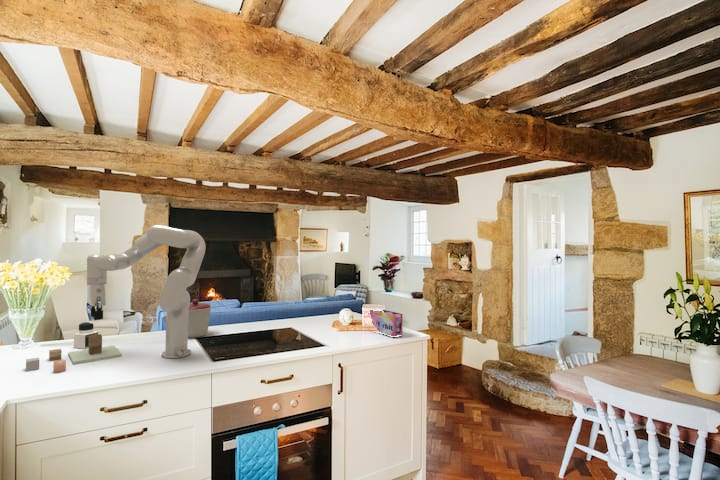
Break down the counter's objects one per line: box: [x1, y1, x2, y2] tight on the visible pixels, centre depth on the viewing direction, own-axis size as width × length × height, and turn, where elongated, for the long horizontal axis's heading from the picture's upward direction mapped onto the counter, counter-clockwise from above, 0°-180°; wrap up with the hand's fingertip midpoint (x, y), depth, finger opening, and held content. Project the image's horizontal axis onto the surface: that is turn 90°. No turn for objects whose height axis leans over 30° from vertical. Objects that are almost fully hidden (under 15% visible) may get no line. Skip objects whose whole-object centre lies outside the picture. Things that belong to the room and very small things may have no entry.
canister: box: [188, 298, 213, 339], centre depth 211 cm, size 18×18×21 cm
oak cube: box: [48, 348, 63, 362], centre depth 166 cm, size 4×4×4 cm
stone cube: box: [25, 357, 40, 372], centre depth 153 cm, size 4×4×4 cm
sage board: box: [67, 345, 123, 365], centre depth 172 cm, size 18×18×1 cm
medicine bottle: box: [73, 321, 99, 350], centre depth 186 cm, size 7×7×12 cm
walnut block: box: [87, 333, 103, 355], centre depth 172 cm, size 4×4×8 cm
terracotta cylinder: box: [52, 359, 67, 374], centre depth 151 cm, size 4×4×4 cm
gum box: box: [369, 309, 403, 336], centre depth 225 cm, size 24×8×14 cm, turn 40°
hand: (96, 317), depth 172 cm, fingers open, 9 cm apart
